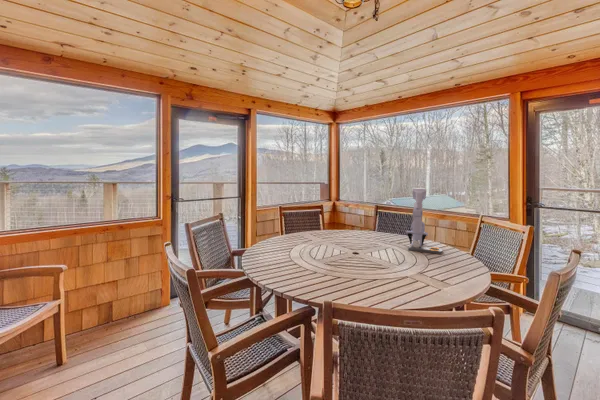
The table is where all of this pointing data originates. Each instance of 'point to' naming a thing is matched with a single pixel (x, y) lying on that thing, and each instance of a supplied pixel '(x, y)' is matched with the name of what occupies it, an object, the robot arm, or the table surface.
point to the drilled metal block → (416, 244)
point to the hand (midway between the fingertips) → (416, 244)
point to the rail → (426, 249)
